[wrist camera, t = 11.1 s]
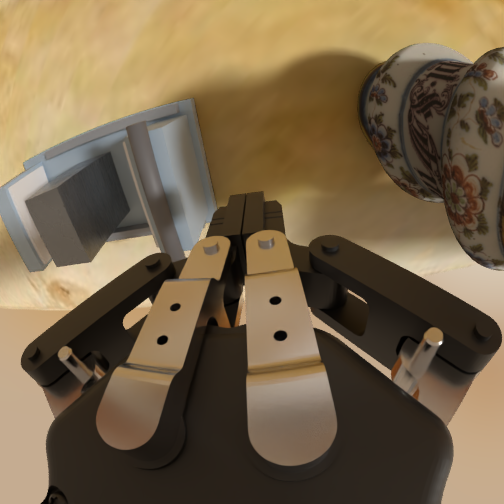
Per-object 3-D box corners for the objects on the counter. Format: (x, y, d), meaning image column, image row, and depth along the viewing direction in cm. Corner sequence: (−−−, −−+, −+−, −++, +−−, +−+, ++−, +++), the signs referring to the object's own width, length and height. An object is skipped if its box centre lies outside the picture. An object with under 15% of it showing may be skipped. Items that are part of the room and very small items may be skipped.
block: (98, 217, 24) (56, 266, 18) (77, 163, 21) (24, 201, 14) (130, 210, 24) (90, 262, 17) (110, 151, 21) (56, 187, 14)
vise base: (62, 241, 28) (31, 279, 22) (29, 159, 21) (-14, 186, 15) (218, 215, 26) (206, 262, 20) (193, 97, 19) (165, 106, 13)
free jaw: (179, 221, 25) (155, 271, 19) (150, 115, 19) (106, 134, 13) (210, 217, 24) (194, 268, 18) (185, 105, 19) (151, 119, 13)
